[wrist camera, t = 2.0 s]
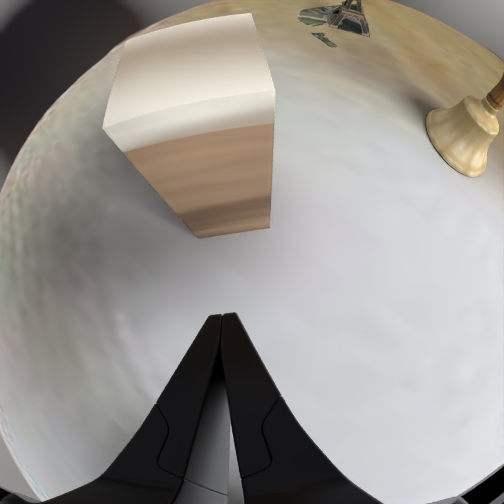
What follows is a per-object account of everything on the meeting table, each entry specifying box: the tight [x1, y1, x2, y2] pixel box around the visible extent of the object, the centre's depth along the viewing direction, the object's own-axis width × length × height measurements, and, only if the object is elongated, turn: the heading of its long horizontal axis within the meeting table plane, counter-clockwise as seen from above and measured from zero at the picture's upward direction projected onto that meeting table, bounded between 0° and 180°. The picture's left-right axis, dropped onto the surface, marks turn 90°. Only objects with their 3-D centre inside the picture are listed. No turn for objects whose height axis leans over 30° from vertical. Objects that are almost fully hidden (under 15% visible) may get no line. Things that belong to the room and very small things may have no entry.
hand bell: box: [426, 73, 504, 177], centre depth 12 cm, size 8×8×16 cm
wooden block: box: [102, 13, 275, 238], centre depth 13 cm, size 5×5×13 cm
